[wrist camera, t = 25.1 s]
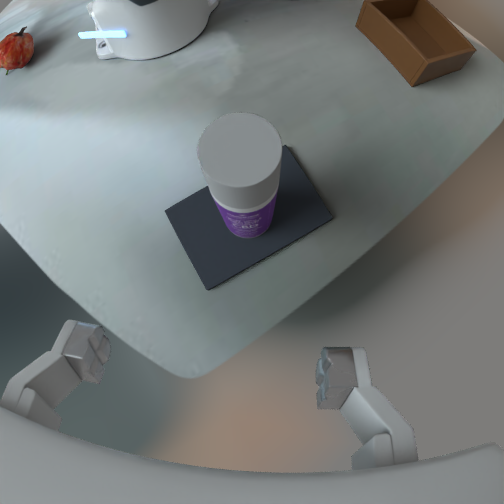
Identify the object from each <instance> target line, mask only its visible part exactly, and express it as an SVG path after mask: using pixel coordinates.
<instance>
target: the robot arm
mask: <svg viewBox="0 0 504 504" xmlns="http://www.w3.org/2000/svg"><path fill="white" fill-rule="evenodd" d="M218 4H219V2H218V0H94V1H92V2H90V3H88V4H87V9H88V11H89V14H90V17H91V18H93V20H94V21H95V27H96V32H80V33H79V34H78V35H79V36H80V38H96V49H97V55H98V57H99V58H100V59H110V58H116V57H120V58H125V59H130V60H145V59H152V58H156V57H160V56H163V55H166V54H169V53H171V52H174V51H176V50H178V49H180V48H182V47H184V46H185V45H187V44H188V43H190V42H191V41H193V40H194V39H195V38H196V37H197V36H198V35H199V34H200V33H201V32H202V31H203V29H204V28H205V26H206V24H207V22H208V18H209V15H210V13H211V12H212V11H213V10H214V9H215V8H216V7H217V5H218ZM104 332H105V331H104V329H103V327H102V326H99V325H93V324H88V323H82V322H79V321H74V320H68V321H66V322H65V324H64V326H63V328H62V330H61V332H60V334H59V335H58V338H57V339H56V342H55V344H54V346H53V348H52V350H51V352H50V351H47V352H46V353H45V354H43V355H42V356H40V357H39V358H38V359H36V360H35V361H34V362H32V363H31V364H30V365H28V366H27V367H26V368H24V369H23V370H22V371H20V372H19V373H18V374H16V375H15V376H14V377H13V378H11V379H10V380H9V382H8V385H7V387H6V389H5V391H4V394H3V396H2V398H1V401H0V504H504V450H503V449H502V448H501V447H500V446H499V445H498V444H496V443H494V442H490V443H486V444H482V445H479V446H476V447H472V448H469V449H466V450H462V451H458V452H454V453H450V454H446V455H442V456H438V457H434V458H429V459H425V460H420V461H418V454H417V447H416V441H415V435H414V429H413V428H412V426H411V425H410V424H409V423H408V422H407V421H406V420H405V419H404V418H403V417H402V415H401V414H400V413H399V412H398V411H397V409H396V408H395V407H394V406H393V405H392V404H391V403H390V402H389V400H388V399H387V398H386V397H385V396H384V395H383V394H382V392H381V391H380V390H379V389H378V388H377V387H373V386H372V380H371V375H370V369H369V364H368V359H367V353H366V350H365V348H364V347H324V348H323V349H322V351H321V358H320V359H319V360H318V362H317V367H316V383H317V384H318V386H319V390H318V392H317V407H318V409H340V412H341V413H342V415H343V416H344V418H345V419H346V421H347V422H348V424H349V425H350V427H351V428H352V429H353V431H354V433H355V434H356V435H357V437H358V438H359V440H360V441H361V443H362V444H363V446H362V447H361V448H360V449H359V450H358V451H357V452H355V453H354V454H353V455H352V456H351V457H352V470H348V471H335V472H315V473H314V472H313V473H271V472H270V473H269V472H249V471H235V470H225V469H215V468H206V467H199V466H192V465H185V464H179V463H173V462H168V461H162V460H157V459H153V458H148V457H143V456H139V455H135V454H131V453H126V452H122V451H119V450H115V449H111V448H108V447H104V446H101V445H98V444H94V443H91V442H88V441H85V440H82V439H78V438H76V437H73V436H70V435H67V434H64V433H61V432H59V427H60V424H61V421H62V418H61V417H60V415H59V414H58V413H56V411H55V410H53V409H54V408H55V407H56V406H57V405H58V404H59V403H60V402H61V401H63V400H64V399H65V398H66V396H68V395H69V393H71V392H72V391H73V390H74V389H75V388H76V387H77V386H78V385H79V384H80V383H81V382H82V380H83V381H88V382H92V383H97V384H100V382H101V379H102V376H103V374H104V371H105V370H104V367H103V364H105V363H106V362H107V361H108V360H109V357H110V352H111V345H110V341H109V339H108V338H107V337H106V336H105V335H104Z"/></svg>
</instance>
